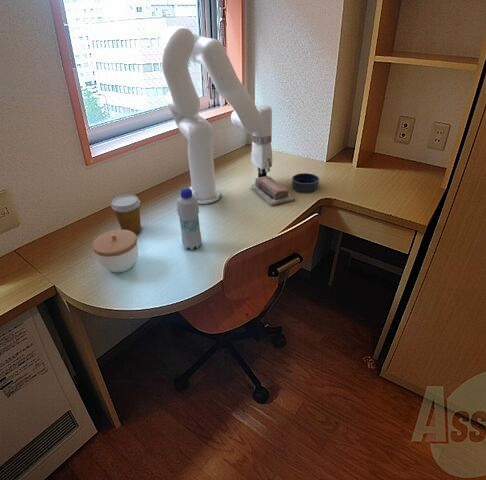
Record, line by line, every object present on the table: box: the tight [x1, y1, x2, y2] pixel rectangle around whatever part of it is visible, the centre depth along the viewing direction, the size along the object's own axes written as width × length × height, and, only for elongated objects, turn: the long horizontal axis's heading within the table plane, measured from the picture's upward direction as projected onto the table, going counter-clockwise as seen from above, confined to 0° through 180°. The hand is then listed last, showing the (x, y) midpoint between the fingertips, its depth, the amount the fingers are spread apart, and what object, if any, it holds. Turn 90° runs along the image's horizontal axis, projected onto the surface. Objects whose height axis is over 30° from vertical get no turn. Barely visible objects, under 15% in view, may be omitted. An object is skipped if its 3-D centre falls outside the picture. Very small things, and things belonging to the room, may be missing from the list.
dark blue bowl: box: [291, 172, 320, 194], centre depth 147 cm, size 11×11×4 cm
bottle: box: [176, 188, 203, 251], centre depth 110 cm, size 7×7×20 cm
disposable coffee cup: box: [110, 194, 142, 235], centre depth 122 cm, size 10×10×12 cm
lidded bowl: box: [92, 229, 139, 274], centre depth 106 cm, size 13×13×11 cm
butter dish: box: [251, 175, 295, 206], centre depth 143 cm, size 18×5×10 cm
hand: (262, 181), depth 152 cm, fingers closed
